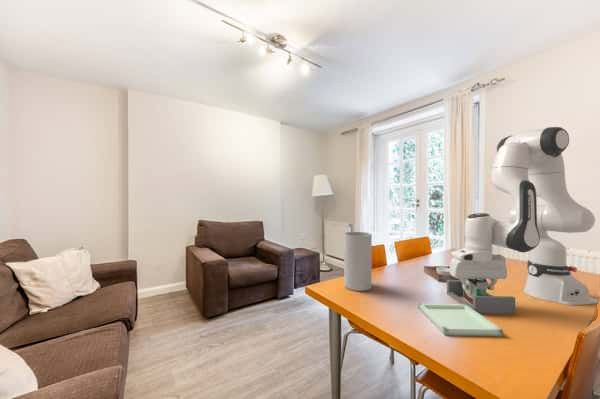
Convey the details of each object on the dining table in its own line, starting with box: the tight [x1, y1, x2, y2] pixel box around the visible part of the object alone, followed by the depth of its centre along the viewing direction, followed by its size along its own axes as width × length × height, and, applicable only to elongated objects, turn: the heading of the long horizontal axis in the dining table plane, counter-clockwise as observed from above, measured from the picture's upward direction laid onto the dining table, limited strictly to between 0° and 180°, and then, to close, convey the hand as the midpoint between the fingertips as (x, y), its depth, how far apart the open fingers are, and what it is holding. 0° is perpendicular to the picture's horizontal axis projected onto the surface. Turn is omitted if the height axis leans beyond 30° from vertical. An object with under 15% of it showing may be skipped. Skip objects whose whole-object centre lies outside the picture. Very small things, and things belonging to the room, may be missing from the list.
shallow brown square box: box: [423, 265, 460, 283], centre depth 124 cm, size 15×15×4 cm
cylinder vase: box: [343, 231, 373, 292], centre depth 111 cm, size 12×12×25 cm
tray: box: [417, 302, 504, 337], centre depth 80 cm, size 17×17×2 cm
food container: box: [462, 279, 489, 306], centre depth 93 cm, size 12×6×10 cm, turn 168°
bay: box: [446, 280, 516, 315], centre depth 93 cm, size 14×17×6 cm
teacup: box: [436, 267, 450, 274], centre depth 123 cm, size 10×10×5 cm
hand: (477, 289), depth 93 cm, fingers open, 8 cm apart
